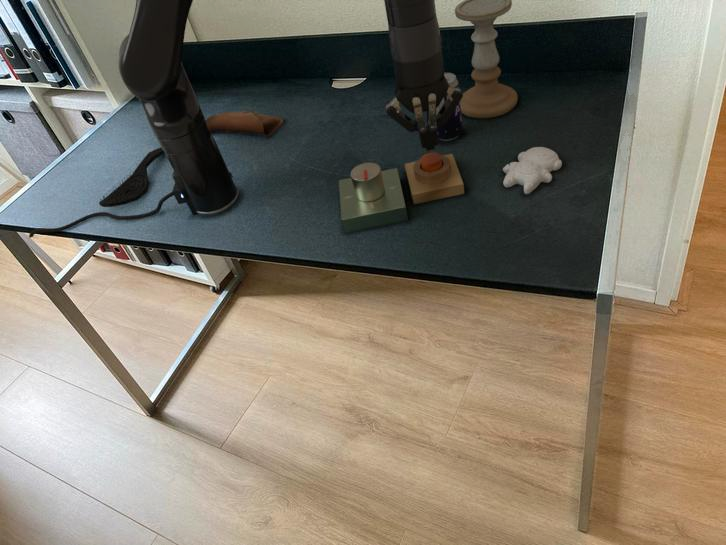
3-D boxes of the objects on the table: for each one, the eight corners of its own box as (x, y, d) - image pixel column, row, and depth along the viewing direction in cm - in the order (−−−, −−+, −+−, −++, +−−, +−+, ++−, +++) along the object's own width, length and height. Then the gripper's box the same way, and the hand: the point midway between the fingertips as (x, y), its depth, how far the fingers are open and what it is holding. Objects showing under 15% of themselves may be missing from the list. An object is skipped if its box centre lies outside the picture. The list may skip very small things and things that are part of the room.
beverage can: (462, 142, 105) (457, 84, 96) (433, 144, 106) (425, 87, 98) (463, 126, 108) (459, 70, 100) (435, 129, 110) (429, 73, 102)
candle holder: (528, 94, 112) (529, -7, 98) (498, 123, 107) (495, 20, 93) (477, 86, 119) (471, -10, 105) (446, 113, 114) (436, 15, 100)
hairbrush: (175, 137, 125) (119, 199, 108) (182, 151, 128) (128, 214, 110) (146, 140, 128) (85, 201, 110) (153, 154, 130) (95, 215, 112)
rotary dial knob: (355, 187, 96) (349, 164, 92) (383, 181, 95) (378, 158, 92) (356, 204, 92) (350, 181, 89) (386, 198, 91) (381, 175, 88)
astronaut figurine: (490, 183, 93) (489, 169, 91) (529, 149, 98) (529, 134, 96) (534, 199, 88) (534, 184, 86) (573, 162, 93) (574, 147, 91)
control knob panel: (345, 233, 92) (341, 219, 90) (342, 193, 101) (338, 179, 98) (408, 220, 91) (405, 205, 89) (399, 181, 100) (397, 166, 97)
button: (423, 174, 93) (422, 165, 92) (420, 163, 96) (419, 154, 95) (443, 169, 93) (442, 161, 92) (440, 158, 96) (439, 150, 94)
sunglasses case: (285, 117, 126) (270, 102, 120) (277, 144, 125) (261, 131, 119) (227, 114, 134) (209, 100, 128) (218, 140, 133) (201, 127, 127)
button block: (413, 204, 94) (410, 186, 91) (406, 173, 101) (403, 155, 98) (464, 194, 93) (462, 175, 90) (453, 163, 100) (451, 144, 97)
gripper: (454, 29, 82) (463, 128, 94) (370, 49, 83) (389, 145, 95) (465, 47, 77) (472, 150, 89) (375, 69, 78) (394, 168, 90)
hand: (429, 147), depth 92 cm, fingers closed
